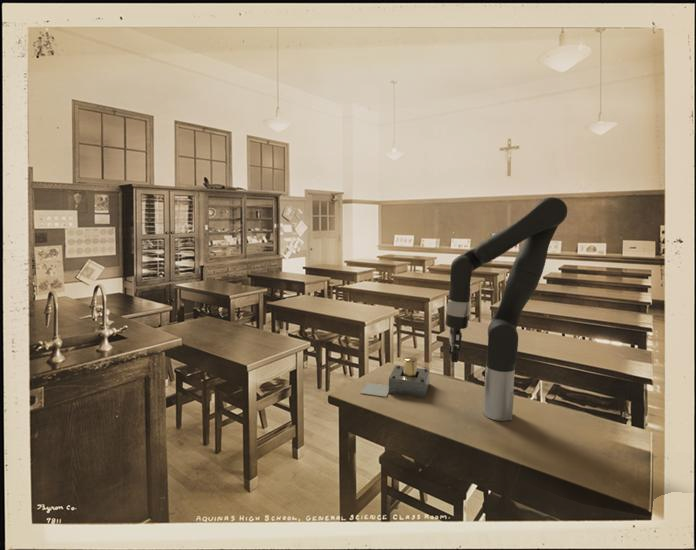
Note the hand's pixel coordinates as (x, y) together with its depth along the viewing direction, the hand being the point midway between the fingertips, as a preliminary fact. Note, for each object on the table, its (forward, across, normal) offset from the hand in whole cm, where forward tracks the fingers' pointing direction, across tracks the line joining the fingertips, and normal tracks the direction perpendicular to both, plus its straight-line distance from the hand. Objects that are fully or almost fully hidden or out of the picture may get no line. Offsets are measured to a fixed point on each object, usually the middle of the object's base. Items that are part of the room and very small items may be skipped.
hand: (452, 357), depth 144 cm
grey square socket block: (+19, +13, +14) cm, 27 cm away
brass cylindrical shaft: (+19, +13, +14) cm, 27 cm away
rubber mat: (+19, +8, +27) cm, 34 cm away
